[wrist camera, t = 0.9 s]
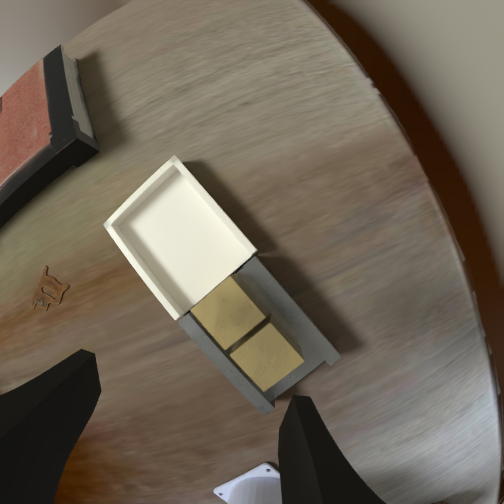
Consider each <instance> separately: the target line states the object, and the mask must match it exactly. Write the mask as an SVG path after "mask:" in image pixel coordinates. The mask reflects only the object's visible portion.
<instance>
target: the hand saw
mask: <svg viewBox="0 0 504 504" xmlns="http://www.w3.org/2000/svg"><path fill="white" fill-rule="evenodd" d="M47 270H48V266H45V268H44V269H43V273H42V276H41V280H40V282H39V283H38V288H36V289H35V290H34V293H33V295H32V298H31V300H30V304H31V306H32V307H33V308H35V305H36V304H37V303H38V304H40V306H41V307H42V309H43V310H44V311H47V309H48V306H49V303H52V304H59V303H60V301H61V298H62V295H63V292H64V291H65V290H67V289H68V288H69V286H70V285H69V284H65V285H62V284H60V283H59V282H58V281H57V280H56V279H55V278H54V277H52V276H48V275H47ZM44 286H45V287H47V288H49V289H51V290H52V291H53V292H54V293H55V294H56V295H57V299H54V298H53V297H51V296H50V295H48V294H45V293H44V292H43V290H42V289H43V287H44Z"/></svg>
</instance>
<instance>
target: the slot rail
mask: <svg viewBox="0 0 504 504" xmlns="http://www.w3.org/2000/svg"><path fill="white" fill-rule="evenodd" d="M237 274H238V275H239V276H240V277H241V279H242V280H243V281H244V282H245V283H246V284H247V286H248V287H249V288H250V289H251V290H252V291H253V293H254V294H255V295H256V296H257V297H258V298H259V300H260V301H261V302H262V303H263V304H264V305H265V306H266V308H267V314H266V317H267V316H268V315H269V314H270V313H272V315H273V316H274V317H275V318H276V319H277V320H278V321H279V323H280V324H281V325H282V326H283V327H284V328H285V329H286V330H287V332H288V333H289V334H290V335H291V336H292V337H293V338H294V340H295V341H296V342H297V343H298V344H299V345H300V346H301V350H302V353H303V357H304V360H305V361H304V362H303V363H302V364H300V365H299V366H298V367H297V368H295V369H294V370H293V371H291V372H290V373H289V374H287V375H286V376H285V377H284V378H282V379H281V380H279V381H278V382H277V383H275V384H274V385H273V386H271V387H270V388H269V389H267V390H266V391H264V392H263V391H262V390H261V388H260V387H259V386H258V385H257V384H256V383H255V382H254V381H253V380H252V379H251V378H250V377H249V376H248V375H247V374H246V373H245V372H244V371H243V369H242V368H241V367H240V366H239V365H238V364H237V363H236V362H235V361H234V360H233V359H232V357H231V356H230V353H231V351H232V349H233V347H234V345H235V343H236V342H235V343H234V344H232V345H231V346H230V347H229V348H227V349H226V350H224V349H223V347H222V346H221V345H220V344H219V343H218V342H217V341H216V340H215V338H214V337H213V336H212V335H211V334H210V333H209V332H208V330H207V329H206V328H205V327H204V326H203V325H202V323H201V322H200V321H199V320H198V319H197V318H196V316H195V315H194V314H193V313H192V312H190V313H188V314H187V315H186V316H184V317H183V318H182V319H181V320H180V321H179V322H178V323H179V324H180V325H181V327H182V328H183V329H184V330H185V331H186V332H187V334H188V335H189V336H190V337H191V338H192V339H193V341H194V342H195V343H196V344H197V345H198V346H199V348H200V349H201V350H202V351H203V352H204V353H205V354H206V355H207V357H208V358H209V359H210V360H211V361H212V362H213V363H214V364H215V365H216V366H217V368H218V369H219V370H220V371H221V372H222V373H223V374H224V375H225V376H226V377H227V378H228V379H229V380H230V382H231V383H232V384H233V385H234V386H235V387H236V388H237V389H238V390H239V391H240V392H241V393H242V394H243V395H244V396H245V397H246V398H247V399H248V400H249V401H250V402H251V403H252V404H253V405H254V406H255V407H256V408H257V409H258V410H259V411H260V412H261V413H262V414H263V415H265V414H267V413H268V412H270V411H271V410H273V409H274V408H275V398H276V397H278V396H279V395H280V394H282V393H283V392H284V391H286V390H287V389H289V388H290V387H291V386H293V385H294V384H295V383H297V382H298V381H299V380H301V379H302V378H303V377H304V376H306V375H307V374H308V373H310V372H311V371H312V370H314V369H315V368H316V367H317V366H319V365H320V364H321V363H322V362H324V361H326V362H327V363H328V364H329V365H330V366H332V365H333V364H334V363H335V362H336V361H338V360H339V359H340V358H341V355H340V354H339V352H338V351H337V349H336V348H335V346H334V345H333V344H332V343H331V342H330V341H329V339H328V338H327V337H326V336H325V335H324V334H323V332H322V331H321V330H320V329H319V328H318V327H317V325H316V324H315V323H314V322H313V321H312V320H311V318H310V317H309V316H308V315H307V314H306V313H305V311H304V310H303V309H302V308H301V307H300V306H299V305H298V303H297V302H296V301H295V300H294V299H293V298H292V296H291V295H290V294H289V293H288V292H287V291H286V289H285V288H284V287H283V286H282V285H281V284H280V282H279V281H278V280H277V279H276V278H275V277H274V275H273V274H272V273H271V272H270V271H269V270H268V268H267V267H266V266H265V265H264V264H263V263H262V261H261V260H260V259H259V258H258V257H257V256H254V257H253V258H252V259H251V260H250V261H248V262H247V263H246V264H245V265H244V267H243V268H242V269H241V270H240V271H238V272H237Z"/></svg>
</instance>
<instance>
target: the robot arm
mask: <svg viewBox="0 0 504 504" xmlns="http://www.w3.org/2000/svg"><path fill="white" fill-rule="evenodd" d="M100 394H101V386H100V380H99V375H98V369H97V363H96V357H95V353H92V352H89V351H86V350H83V349H80V350H79V351H77V352H75V353H74V354H72V355H71V356H69V357H68V358H66V359H65V360H63V361H61V362H60V363H58V364H57V365H55V366H54V367H52V368H50V369H49V370H47V371H46V372H44V373H42V374H41V375H39V376H37V377H36V378H34V379H32V380H30V381H28V382H27V383H25V384H23V385H21V386H19V387H17V388H15V389H13V390H11V391H9V392H7V393H5V394H2V395H0V504H53V501H54V497H55V494H56V490H57V487H58V484H59V481H60V478H61V475H62V472H63V469H64V467H65V464H66V461H67V459H68V457H69V455H70V453H71V451H72V449H73V448H74V446H75V444H76V442H77V440H78V438H79V437H80V435H81V433H82V431H83V430H84V428H85V426H86V424H87V422H88V421H89V419H90V417H91V415H92V413H93V411H94V409H95V406H96V404H97V401H98V399H99V396H100ZM278 459H279V472H278V471H277V470H276V469H275V468H273V467H272V466H271V465H270V464H268V463H263V464H261V465H260V466H258V467H256V468H254V469H252V470H250V471H248V472H247V473H245V474H243V475H241V476H239V477H237V478H235V479H233V480H231V481H229V482H227V483H225V484H223V485H221V486H218V487H216V488H215V489H214V493H215V494H216V495H218V496H219V497H220V498H222V499H223V500H224V501H226V502H227V504H386V503H385V502H384V501H382V500H381V499H380V498H379V497H378V496H377V495H376V494H375V493H374V492H373V491H372V490H371V489H370V488H369V487H368V486H367V485H366V483H365V482H364V481H363V480H362V479H361V478H360V476H359V475H358V474H357V473H356V472H355V470H354V469H353V468H352V466H351V465H350V464H349V462H348V461H347V459H346V458H345V457H344V455H343V454H342V452H341V451H340V449H339V448H338V446H337V444H336V443H335V441H334V440H333V438H332V436H331V435H330V433H329V431H328V429H327V428H326V426H325V424H324V422H323V420H322V419H321V417H320V415H319V413H318V411H317V409H316V407H315V405H314V403H313V401H312V399H311V398H310V397H308V396H297V395H293V396H292V399H291V401H290V404H289V406H288V409H287V411H286V414H285V416H284V419H283V421H282V424H281V426H280V428H279V442H278ZM267 469H271V470H267ZM220 493H222V494H220Z"/></svg>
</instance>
